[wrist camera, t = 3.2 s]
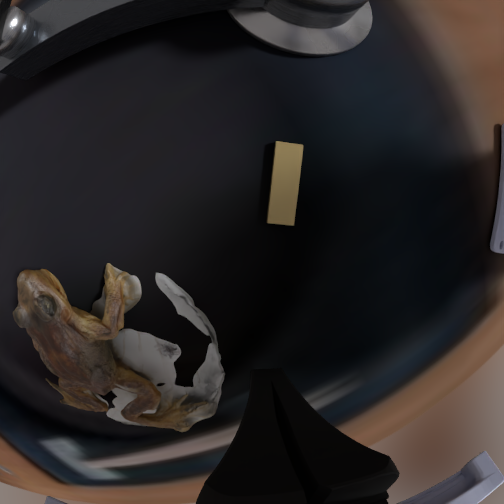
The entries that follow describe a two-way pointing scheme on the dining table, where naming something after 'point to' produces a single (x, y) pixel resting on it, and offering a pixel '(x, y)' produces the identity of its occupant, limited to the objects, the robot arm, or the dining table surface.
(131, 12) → the crank
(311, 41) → the crank base plate
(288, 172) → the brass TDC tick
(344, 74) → the dining table surface
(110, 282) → the frog figurine
